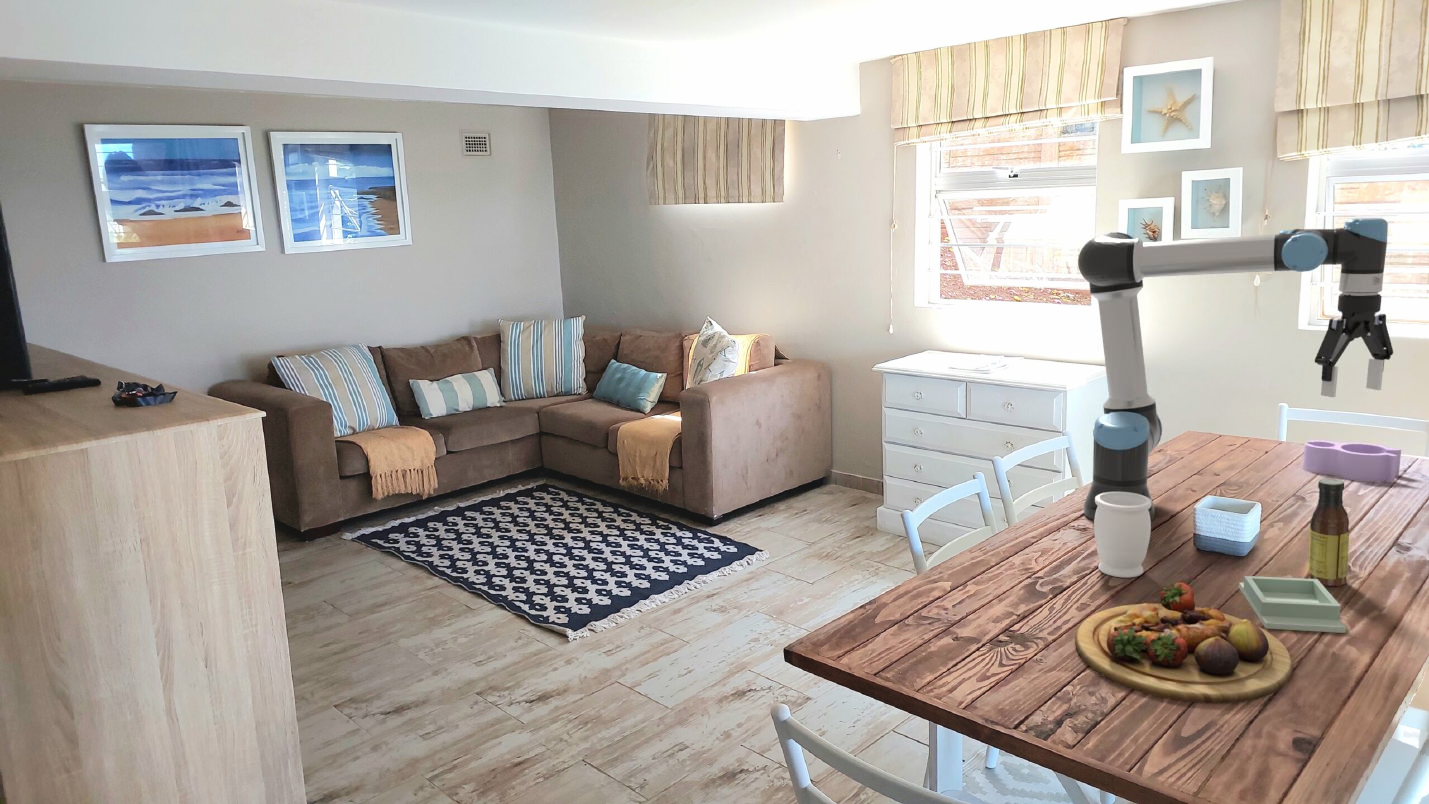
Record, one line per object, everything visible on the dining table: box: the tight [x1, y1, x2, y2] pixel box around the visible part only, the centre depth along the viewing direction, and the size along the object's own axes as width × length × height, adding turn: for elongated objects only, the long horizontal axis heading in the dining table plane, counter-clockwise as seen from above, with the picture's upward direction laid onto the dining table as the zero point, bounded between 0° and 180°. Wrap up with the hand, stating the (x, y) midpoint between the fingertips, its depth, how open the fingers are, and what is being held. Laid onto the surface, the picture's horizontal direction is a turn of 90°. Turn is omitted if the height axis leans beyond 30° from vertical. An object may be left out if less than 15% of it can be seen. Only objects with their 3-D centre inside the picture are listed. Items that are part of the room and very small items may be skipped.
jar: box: [1093, 492, 1153, 579], centre depth 191 cm, size 11×10×15 cm
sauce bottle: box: [1307, 477, 1350, 587], centre depth 180 cm, size 7×6×20 cm
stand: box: [1238, 575, 1347, 634], centre depth 171 cm, size 12×18×4 cm, turn 165°
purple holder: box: [1302, 439, 1402, 483], centre depth 246 cm, size 20×12×7 cm, turn 47°
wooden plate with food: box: [1074, 582, 1294, 704], centre depth 157 cm, size 32×32×8 cm
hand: (1351, 392), depth 206 cm, fingers open, 13 cm apart
